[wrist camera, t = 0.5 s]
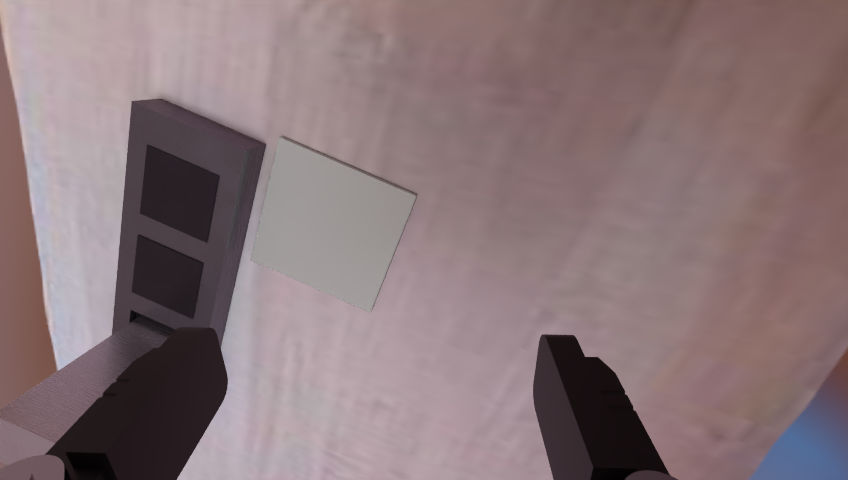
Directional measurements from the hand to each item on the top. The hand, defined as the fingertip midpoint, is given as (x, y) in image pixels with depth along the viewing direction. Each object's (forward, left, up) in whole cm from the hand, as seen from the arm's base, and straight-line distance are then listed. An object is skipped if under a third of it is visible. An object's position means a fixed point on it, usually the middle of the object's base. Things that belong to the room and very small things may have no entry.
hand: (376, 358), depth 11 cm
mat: (+7, -7, -19) cm, 21 cm away
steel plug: (+22, -17, -19) cm, 34 cm away
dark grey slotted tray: (+15, -17, -19) cm, 30 cm away
